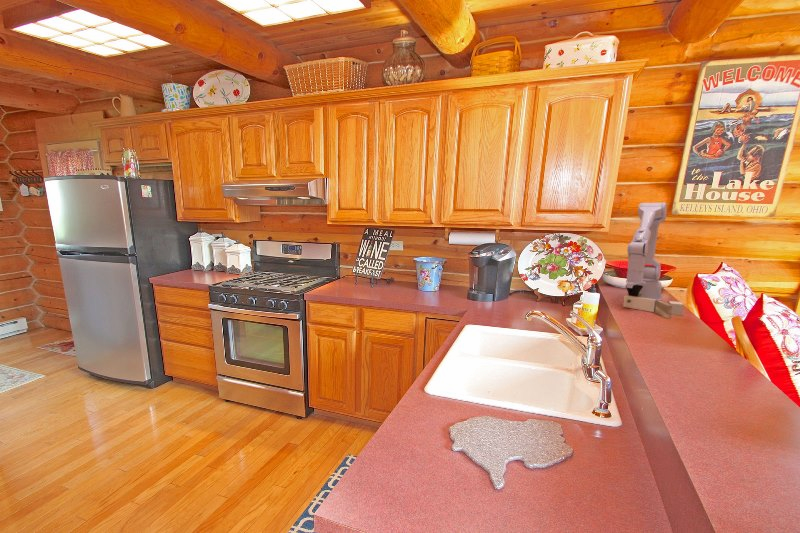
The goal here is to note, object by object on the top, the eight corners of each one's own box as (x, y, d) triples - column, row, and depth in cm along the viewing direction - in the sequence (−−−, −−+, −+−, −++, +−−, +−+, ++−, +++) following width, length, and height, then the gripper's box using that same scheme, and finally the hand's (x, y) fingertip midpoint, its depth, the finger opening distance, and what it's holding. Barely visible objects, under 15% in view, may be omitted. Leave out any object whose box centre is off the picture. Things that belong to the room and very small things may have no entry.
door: (623, 306, 151) (625, 294, 151) (657, 312, 142) (659, 300, 141) (622, 307, 150) (623, 295, 149) (656, 313, 141) (657, 301, 140)
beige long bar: (630, 300, 162) (631, 289, 161) (670, 318, 134) (672, 305, 134) (627, 300, 162) (628, 289, 161) (666, 318, 134) (668, 305, 134)
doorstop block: (667, 311, 143) (668, 301, 143) (679, 313, 142) (680, 302, 141) (669, 314, 140) (671, 303, 139) (682, 315, 138) (683, 304, 137)
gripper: (642, 273, 140) (638, 307, 142) (651, 269, 149) (648, 300, 151) (621, 271, 145) (619, 303, 147) (632, 267, 154) (629, 297, 157)
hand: (632, 302), depth 149 cm, fingers closed
